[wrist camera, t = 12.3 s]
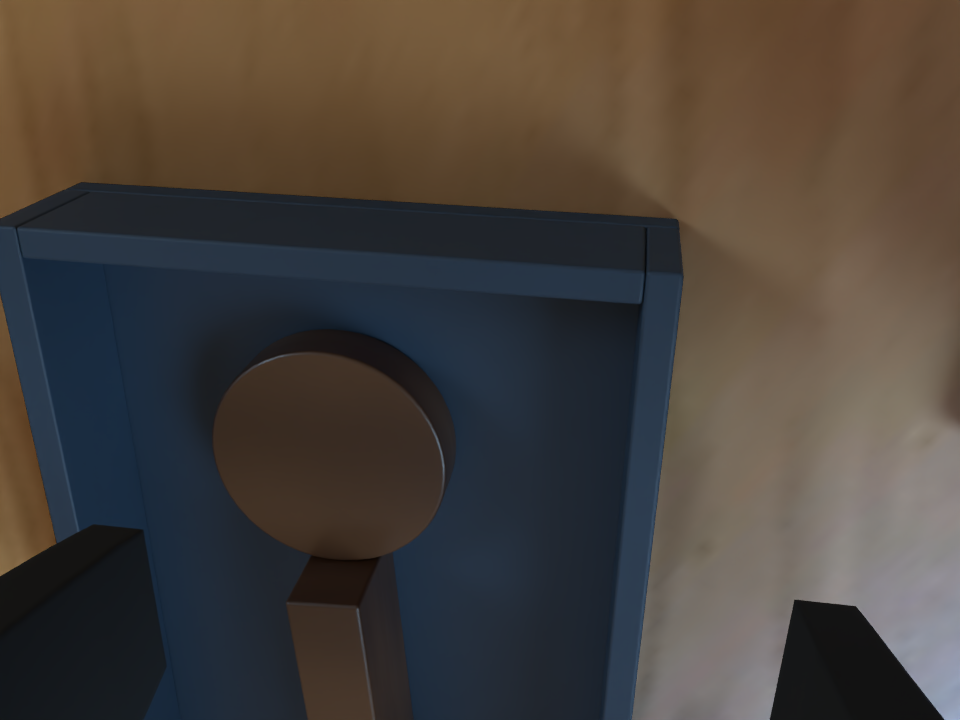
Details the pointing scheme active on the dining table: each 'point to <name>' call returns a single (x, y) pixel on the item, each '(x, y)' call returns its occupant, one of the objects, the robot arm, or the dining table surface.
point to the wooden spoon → (339, 500)
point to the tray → (426, 341)
